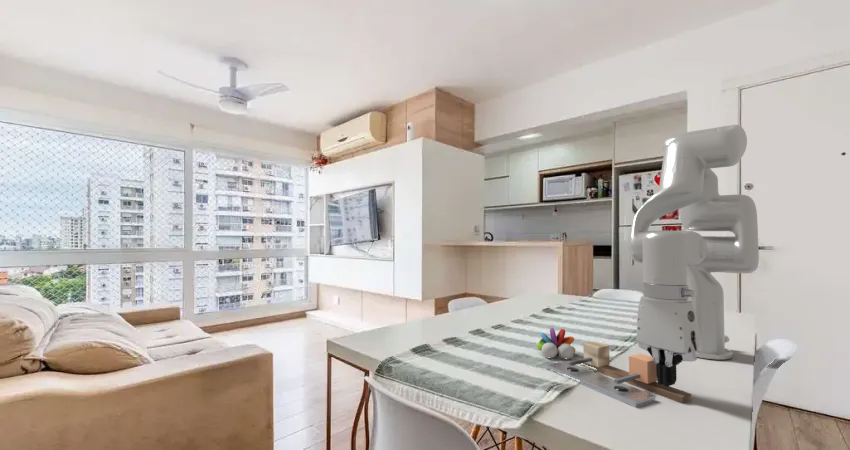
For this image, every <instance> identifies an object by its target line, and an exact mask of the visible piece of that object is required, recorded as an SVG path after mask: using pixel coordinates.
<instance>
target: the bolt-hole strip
mask: <svg viewBox="0 0 850 450" xmlns="http://www.w3.org/2000/svg"><path fill="white" fill-rule="evenodd" d="M568 362H569V361H565V360H563V361H560V362H559V361H558V362H555V363H549V364H546V368H547V367H548V368H550V369H553V370H555V371H558V372H560V373H563V374H566V375H568V376H570V377H573V378H575V379H578V380H580V383H579V384H580V385H582V386H585V387H588V388H589V389H592V390H595V391H597V392H598V393H600V394H601V393H602V394H604V395H606V396H609V397H611V398H613V399H616V400H617V401H620V402H623V403H624V404H627V405H629V406H631V407H634V408H638V407H642V406H645V405H647V404H650V403H653V402H656V395H655V394H652V393H649V392H647V391H644V390H642V389H639V388H638V387H635V386H633V385H630V384H626V383H625V382H623V383H620V384H616V383H615V379H613V378H612V377H608V376H605V375H604V374H603V375H602V374H600V373H599V372H596V371H595V372H594V371H593V370H591V369H590V370H589V369H588V368H584V367H583V366H582V367H581V366H579V365H578V364H577V365H572V366H570V365H568Z"/></svg>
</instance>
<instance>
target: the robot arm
mask: <svg viewBox="0 0 850 450" xmlns="http://www.w3.org/2000/svg"><path fill="white" fill-rule="evenodd" d="M747 136H748V135H747V134H746V131H745V129H744V128H743V127H742V125H738V124H731V125H730V124H729V125H725V126H724V125H723V126H717V127H710V128H706V129H705V128H704V129H699V130H692V131H688V132H682V133H677V134H674V135H672V136H670V137H667V138H666V139H665V140H664V142H663V145H662V149H663V157H662V165H661V171H660V172H661V173H660V180H659V187H658V190H657V192H655V193H654V194H652V195H651V196H650V197H649V198H648V199H646V200H645V201H644V203H642V205H641V206H640V207H639V208H638V210H637V211H636V212H635V213H634V216H633V218H632V221H631V226H630V233H629V238H628V253H629V256H630V258H631V259H632V260H633V261H634V262H636V263H638V264H642V282H643V283H642V289H643V291H642V293H643V294H642V295H643V296H641V297H640V299H639V301H638V302H639V303H638V309H637V316H636V338H637V340H638V341H637V342H638V348H640V349H642V350H644V351H646V352H648V353H649V354H650V355H649V356H651V357H653V361H654V362H655V363H656V373H657V378H658V381H657V382H658V384H661V385H662V384H663V385H664V386H666V387H667V386H670V387H672V386H673V385H676V382H677V378H678V377H677V366H678V365H680V363H683V362H689V363H692V362H697V360H698V358H701V359H707V360H717V361H718V360H720V361H721V360H729V359H733V356H734V355H733V351H731V350H730V349H729V348H726V345H725V343H729V342H730V338H729V336H728V335H725V307H724V306H725V302H724V301H725V300H724V289H723V286H722V285H721V283H720V282H719V281H718V280H717V279H716V278H715V276H714V275H712V273H727V274H751V273H754V272H755V271H756V270H757V269H758V268H759V267H758V266H759V262H760V261H759V260H760V259H759V257H760V256H759V255H760V254H759V253H760V251H759V230H758V227H759V226H758V225H759V224H758V211H757V207H756V203H755V201H754V200H753V198H752V197H751V196H749V195H746V194H724V195H723V194H722V195H720V194H719V178H718V176H717V174H716V173H715V171H713V170H712V169H718V168H719V169H720V168H728V167H733V166H735V165H737V164H738V163H740V160H741V159H742V157H743V156H744V154H745V152H746V149H747V145H748V137H747ZM678 210H679V211H680V212H679V213H680V221H681V225H682V227H683V228H684V229H685V230H649V228H650V227H651V225H652V224H653V223H654V222H656V221H657V220H659V219H660V218H662V217H664V216H666V215H668V214H670V213H673V212H675V211H678ZM699 232H730V233H733V235H734V236H716V235H715V236H713V235H708V236H707V235H706V236H705V235H701V234H700V233H699Z"/></svg>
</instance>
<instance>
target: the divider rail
mask: <svg viewBox="0 0 850 450" xmlns="http://www.w3.org/2000/svg"><path fill="white" fill-rule="evenodd" d="M567 362H568V365H570V366H572V365H577V366H578V365H579V364H581V363H583V364H585V365H588V366H591V367H594V368H596V369H597V371H596V372H597V373H601V374H603V375H606V376H607V377H608V376H609V377H610V378H614V379H618V378H621V377H625V376H629V371H627V370H623V369H621V368H619V367H616V366H612V365H610V345H609V344H605V343H603V342H598V341H596V340H594V341H590V342H588V341H587V342H584V343H583V357H582V358H579V359H575V360H569V361H567ZM626 383H628V384H629V385H631V386H634V387H635V386H636V387H637V388H641V389H643V390H646V391H649V392H652V393H654V394H656V395H659V396H662V397H664V398H667V399H669V400H673V401H676V402H677V403H681V404H685V403H687V402H690V401H692V393H690V392H687V391H684V390H681V389H678V388H675V387H672V386H667V387H666V386H664V385H663V384H662V385H661V384H658V381H656V382H653V383H649V384H646V383H644V382H641V381H638V380H635V379H634V380H631V381H627V382H626Z"/></svg>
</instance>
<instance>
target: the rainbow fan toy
mask: <svg viewBox="0 0 850 450" xmlns="http://www.w3.org/2000/svg"><path fill="white" fill-rule="evenodd" d="M549 334H550V337H549V336H548V335H547V334H545V333H544V332H541V333H540V334H539V335H540V337H541V338H540V339H539V341H538V343H537V344H536V347H537V349H538V350H540V351H541V354H542V355H543V357H545V358H546V357H550V358H549V359H554V358H556V356H557V355H558V356H559V357H560V358H561V357H562V358H561V359H563V358H567V359H566V360H570V359H572V358H573V356H574V355H575V353H576V348H575V347H574V346H572V345H571V344H573V342H574V341H575V338H574V336H566V330H565V329H564V328H561V329H560V330H559V331H558V333H557V334H556V330H555V328H554V327H550V328H549ZM565 336H566V337H565ZM553 357H554V358H553ZM569 358H570V359H569Z"/></svg>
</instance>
